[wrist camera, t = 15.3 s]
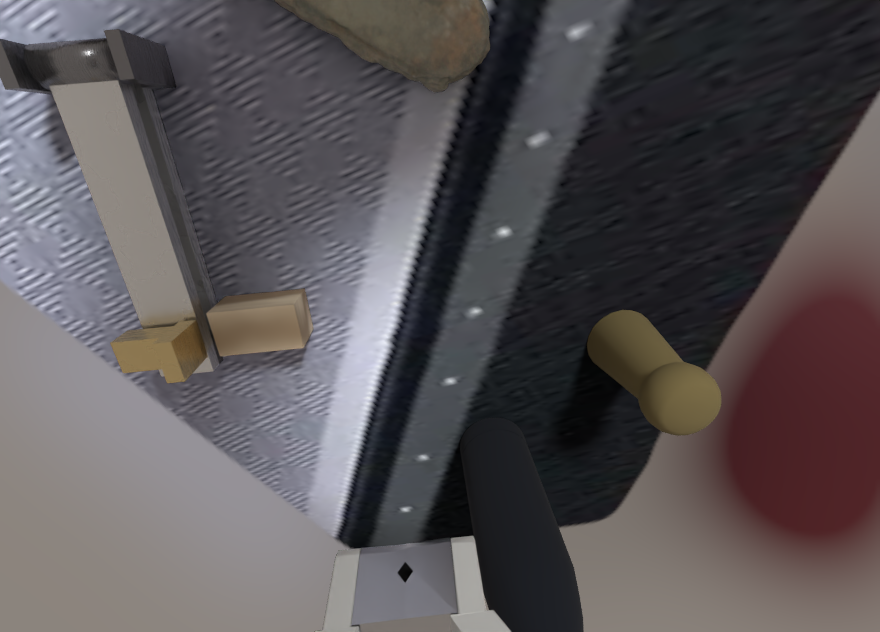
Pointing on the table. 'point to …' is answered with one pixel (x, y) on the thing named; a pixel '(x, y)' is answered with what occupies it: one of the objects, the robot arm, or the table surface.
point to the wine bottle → (517, 533)
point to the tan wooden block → (261, 322)
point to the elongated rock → (406, 34)
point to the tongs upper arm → (122, 181)
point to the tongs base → (148, 72)
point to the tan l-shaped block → (162, 350)
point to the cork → (654, 373)
